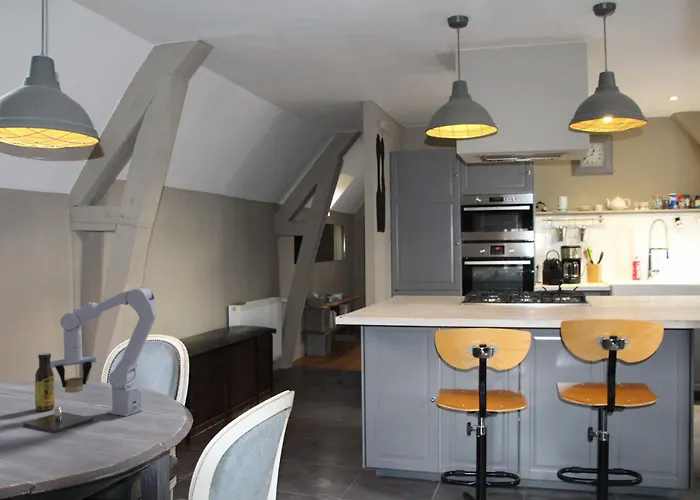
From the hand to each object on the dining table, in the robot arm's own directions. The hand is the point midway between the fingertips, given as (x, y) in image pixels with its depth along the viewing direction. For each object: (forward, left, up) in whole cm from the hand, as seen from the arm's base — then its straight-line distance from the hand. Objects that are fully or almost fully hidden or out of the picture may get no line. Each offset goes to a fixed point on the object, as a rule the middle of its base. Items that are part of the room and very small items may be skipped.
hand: (74, 385), depth 220 cm
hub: (-6, +11, -10) cm, 16 cm away
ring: (0, 0, -2) cm, 2 cm away
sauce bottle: (+13, +2, -10) cm, 16 cm away
